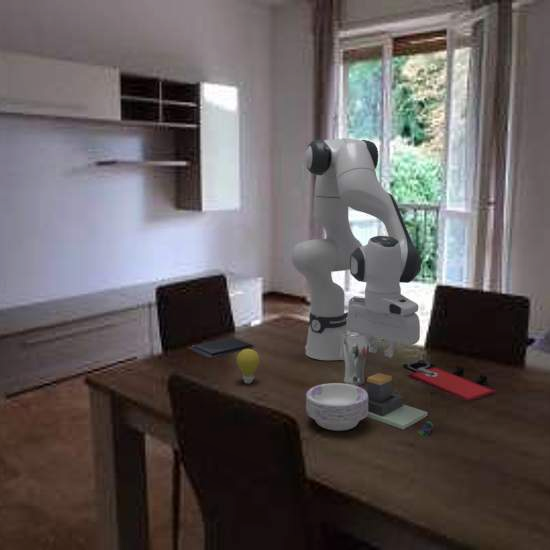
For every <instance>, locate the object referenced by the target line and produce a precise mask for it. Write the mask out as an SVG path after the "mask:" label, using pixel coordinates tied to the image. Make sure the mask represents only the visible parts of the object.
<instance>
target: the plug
mask: <svg viewBox="0 0 550 550" xmlns="http://www.w3.org/2000/svg"><path fill="white" fill-rule="evenodd" d="M366 381H367V382H366V383H367V385H366V392H367V393H368V397H369V398H368V400H371V401H374V402H377V403H380V404H381V403H383V402H385V401H387V400H389V399H391V393H392V381H393V380H392V376H390V375H387V374H384V373H381V372H377V373H375V374H373V375H370V376H367V379H366Z"/></svg>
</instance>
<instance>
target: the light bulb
mask: <svg viewBox="0 0 550 550" xmlns="http://www.w3.org/2000/svg"><path fill="white" fill-rule="evenodd" d="M236 364H237V366H238V368H239V370H240V371H241V372H242V380H243V382H244V383H245V384H251V382H252V383H253V380H254V378H255V375H254V372H255V371H256V370H257V368H258V366H259V364H260V356H259V354H258V352H257V351H256V350H254V349H253V348H252V349H244V350H242V351H239V352H238V354H237V357H236Z"/></svg>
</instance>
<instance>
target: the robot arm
mask: <svg viewBox="0 0 550 550" xmlns="http://www.w3.org/2000/svg"><path fill="white" fill-rule="evenodd" d="M304 155H305V157H304V158H305V159H304V160H305V165H306V167H307V170H308V171H309V173H311V174H313V175H316V178H315V182H314V183H315V184H314V193H313V194H314V195H313V215H312V216H313V220H314V221H315V223H316V224H317V225H319V226H320V227H322V228H324V231H325V238H318V239H309V240H305V241H301V242H299V243H297V244H295V246H294V248H293V249H292V252H291V262H292V264H293V265H292V266H293V267H294V269H295V270H296V271H297V272H298V273H300V274H301V275H302V276H303V277H304V278H305V281H306V282H307V284H308V288H309V291H310V292H309V293H310V312H309V316H308V318H309V319H308V321H309V324H310V325H309V326H308V330H307V338H306V340H307V341H306V344H305V345H304V350H305V355H306V356H307V357H309V358H311V359H315V360H320V361H344V354H343V339H344V331H346V330H349V331H351V332H356V333H360V334H364V335H365V340H366V342H367V347H368V352H369V353H371V354H375V353H377V352H378V345H377V344H375V342H374V339H375V338H377V339H381V340H385V341H388V343H387V344H388V345H389V346H388V348H387V349H384V357H387V358H392V357H393V356H394V350H395V348H396V347H397V346H398V344H401V345H402V344H403V345H405V346H413V345H416V344H417V343H418V342H419V341H420V337H421V323H420V318H419V315H418V314H417V312H418V311H419V304H418V303H417V302H415V301H413V300H412V299H409V298H408V297H406V296H405V295H403V294H402V293H401V292H402V288H401V285H400V284H401V283H405V284H407V283H408V284H409V283H411V282H412V281H413V280H415V278H416V277H417V276H418V275H419V273H420V272H421V269H422V260H421V256H420V254H419V251H418V249H417V248H416V246H415V244H414V242H413V241H412V238H411V236H410V234H409V231H408V229H407V227H406V224H405V221H404V219H403V216H402V213H401V210H400V209H399V207H398V203H397V201H396V199H395V198H394V196H393V195H392V194H391V193H389V192H387V190H385V188H384V187H383V186H382V184H381V183H380V182H379V179H378V177H377V173H376V169H377V166H378V163H379V150H378V147H377V145H376V144H375V143H374V142H373V141H370V140H368V139H367V140H366V139H361V140H360V139H355V138H354V139H353V138H337V139H335V138H334V139H322V138H321V139H316V140H315V139H314V140H313V141H311V142H310V143H309V144H308V145H307V148H306V151H305V154H304ZM349 208H351V209H352V210H354V211H356V212H360V213H363V214H367V215H370V216H373V217H374V218H376V219H378V220H380V221H381V222H382V223H383V225H384V227H385V229H386V232H387V234H388V235H376V236H372V237H371V238H369V240H368V242H367V244H365V245H363V244H362V242H360V240H359V239H357V238H356V237H355V235H354V234H353V232H352V229H351V226H350V221H349V220H350V219H349ZM343 271H350V275H351V276H352V277H353V278H354V280H356V281H358V282H360V283H366V285H365V289H364V297H359V296H353V297H352V298H350V299H349V301H348V311H347V312H345V297H346V296H345V295H346V294H345V291H344V289H343V288H342V286H341V285H339V284H338V283H336V282H334V281H333V277H332V273H333V272H343Z"/></svg>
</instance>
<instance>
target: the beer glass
mask: <svg viewBox="0 0 550 550" xmlns="http://www.w3.org/2000/svg"><path fill="white" fill-rule="evenodd" d="M343 354H344V360H343V361H344V365H345V366H344V367H345V371H344V377H343V382H344V384H350V385H354V386H361V385H363V384H365V382H366V381H365V375H364V372H365V370H364V368H365V363H366V359H367V354H368V344H367V342H366V340H365V335H364V334H360V333H356V332H351V331H349V330H346V331H344V339H343Z"/></svg>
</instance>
